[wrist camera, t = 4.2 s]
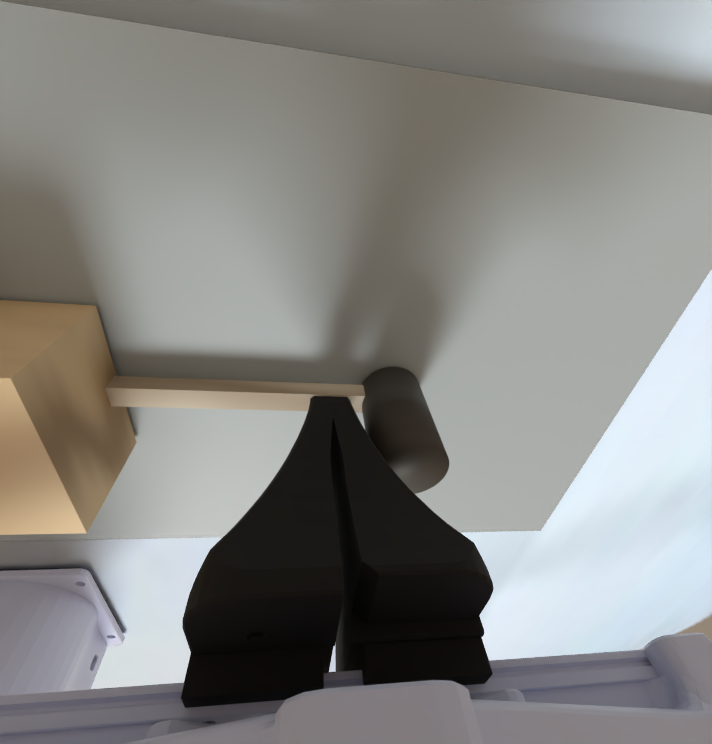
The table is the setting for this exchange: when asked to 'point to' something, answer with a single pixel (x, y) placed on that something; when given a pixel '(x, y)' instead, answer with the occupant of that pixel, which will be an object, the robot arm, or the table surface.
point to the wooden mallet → (114, 393)
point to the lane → (342, 252)
